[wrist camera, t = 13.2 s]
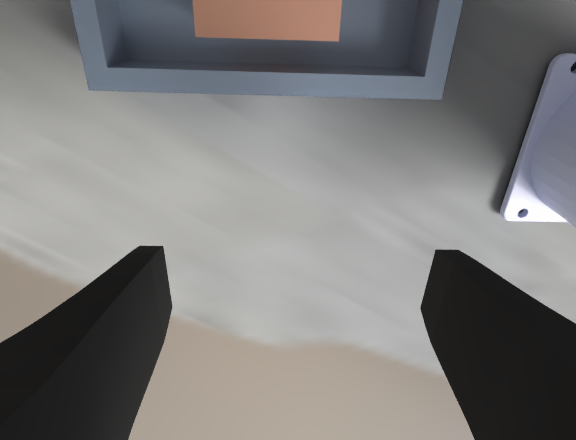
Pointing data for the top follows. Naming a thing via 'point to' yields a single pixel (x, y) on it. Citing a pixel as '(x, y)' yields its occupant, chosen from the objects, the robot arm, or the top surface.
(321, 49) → the tray
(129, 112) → the top surface
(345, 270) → the top surface
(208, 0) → the terracotta block
